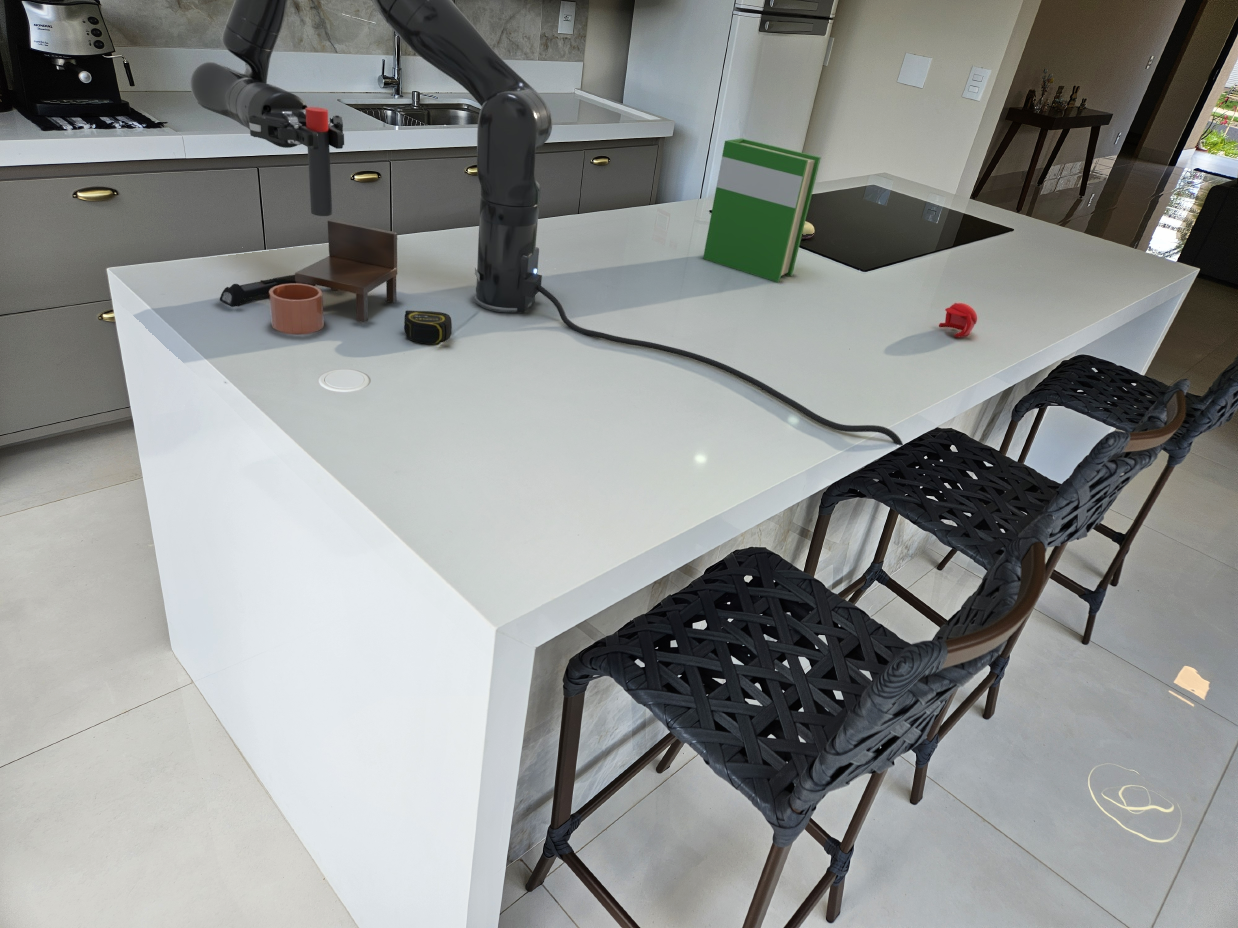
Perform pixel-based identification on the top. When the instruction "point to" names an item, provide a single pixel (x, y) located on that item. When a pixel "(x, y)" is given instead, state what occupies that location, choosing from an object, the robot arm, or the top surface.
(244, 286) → the electric trimmer
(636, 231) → the top surface
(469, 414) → the top surface
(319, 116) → the marker
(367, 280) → the chair
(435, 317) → the tape measure
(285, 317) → the pen pot
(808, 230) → the donut
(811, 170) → the hardback book
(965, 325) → the red toy helmet
